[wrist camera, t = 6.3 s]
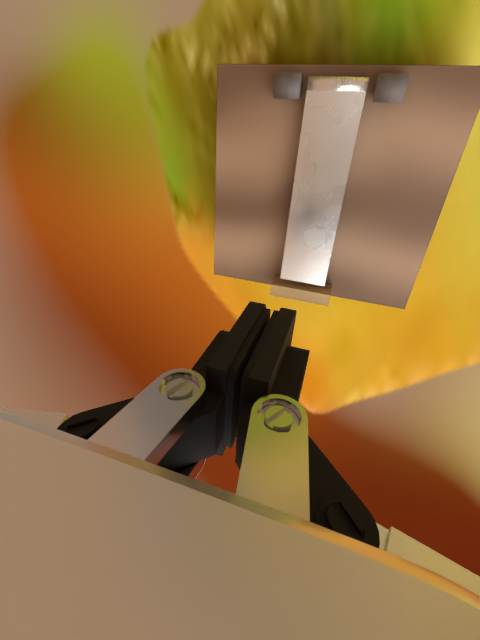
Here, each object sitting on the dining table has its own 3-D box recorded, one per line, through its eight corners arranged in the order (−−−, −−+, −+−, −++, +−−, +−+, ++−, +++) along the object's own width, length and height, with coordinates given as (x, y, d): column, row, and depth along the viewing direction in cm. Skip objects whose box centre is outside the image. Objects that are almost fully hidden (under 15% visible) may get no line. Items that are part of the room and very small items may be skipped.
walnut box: (243, 79, 22) (204, 56, 16) (464, 83, 19) (511, 56, 13) (234, 255, 29) (204, 282, 23) (396, 282, 25) (408, 321, 20)
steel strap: (310, 77, 17) (308, 74, 16) (369, 78, 16) (369, 74, 15) (282, 275, 22) (279, 278, 21) (325, 282, 21) (324, 286, 20)
